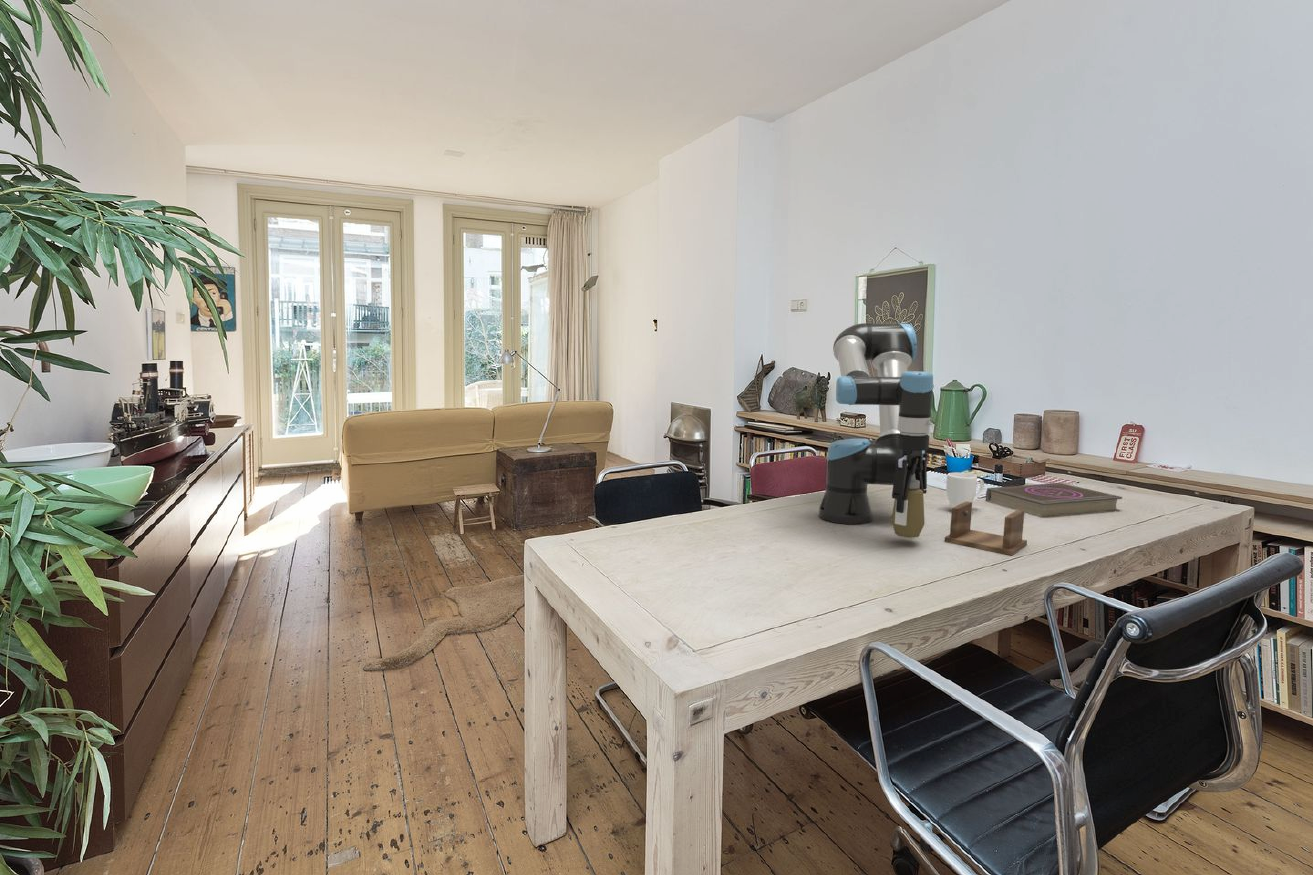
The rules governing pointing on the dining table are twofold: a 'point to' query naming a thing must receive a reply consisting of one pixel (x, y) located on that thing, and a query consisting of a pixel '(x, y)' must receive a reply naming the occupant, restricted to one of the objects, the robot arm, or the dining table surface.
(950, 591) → the dining table surface
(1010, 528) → the holder
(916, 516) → the squeeze bottle
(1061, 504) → the book
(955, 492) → the mug
